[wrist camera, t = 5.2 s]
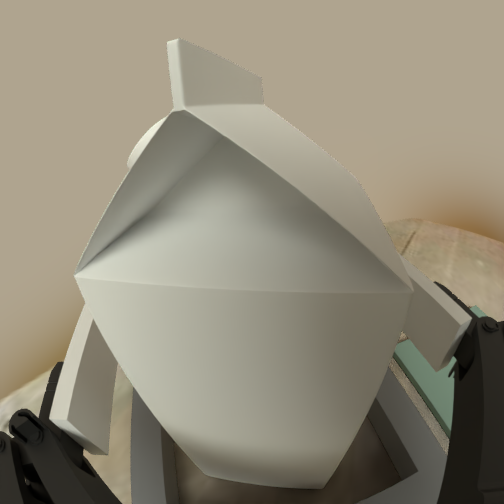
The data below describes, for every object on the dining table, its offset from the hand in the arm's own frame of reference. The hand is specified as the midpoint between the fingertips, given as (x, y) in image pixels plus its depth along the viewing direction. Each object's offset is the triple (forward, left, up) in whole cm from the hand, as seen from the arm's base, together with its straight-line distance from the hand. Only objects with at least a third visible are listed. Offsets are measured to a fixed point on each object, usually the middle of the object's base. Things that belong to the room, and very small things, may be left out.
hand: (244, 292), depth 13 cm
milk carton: (0, +3, -10) cm, 11 cm away
